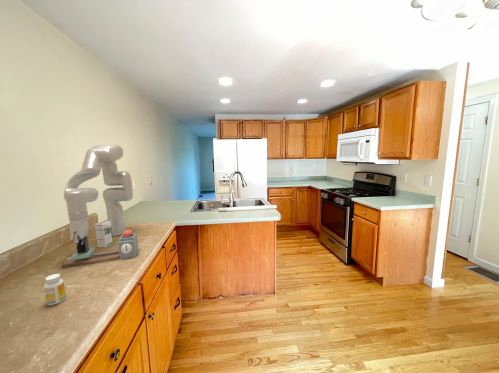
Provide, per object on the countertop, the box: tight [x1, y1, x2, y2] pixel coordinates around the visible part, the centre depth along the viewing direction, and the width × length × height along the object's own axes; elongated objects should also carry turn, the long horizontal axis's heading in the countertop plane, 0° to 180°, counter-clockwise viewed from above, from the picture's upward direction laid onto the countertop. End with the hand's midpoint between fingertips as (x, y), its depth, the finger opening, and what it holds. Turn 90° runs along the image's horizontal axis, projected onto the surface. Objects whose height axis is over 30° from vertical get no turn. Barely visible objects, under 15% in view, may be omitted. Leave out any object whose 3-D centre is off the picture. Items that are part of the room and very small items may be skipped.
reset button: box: [122, 229, 133, 237], centre depth 114 cm, size 4×4×2 cm
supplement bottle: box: [43, 273, 67, 306], centre depth 79 cm, size 5×5×10 cm
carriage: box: [71, 236, 96, 260], centre depth 108 cm, size 8×7×9 cm
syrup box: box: [94, 220, 114, 248], centre depth 127 cm, size 6×6×14 cm
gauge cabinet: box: [118, 232, 139, 260], centre depth 115 cm, size 11×7×10 cm, turn 18°
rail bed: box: [61, 249, 121, 269], centre depth 111 cm, size 10×24×3 cm, turn 109°
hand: (83, 250), depth 109 cm, fingers closed on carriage, 3 cm apart
